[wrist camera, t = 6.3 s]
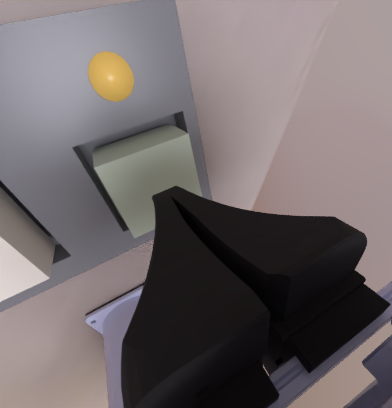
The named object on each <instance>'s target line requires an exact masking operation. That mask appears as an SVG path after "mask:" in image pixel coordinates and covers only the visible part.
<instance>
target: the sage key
mask: <svg viewBox="0 0 392 408" xmlns="http://www.w3.org/2000/svg"><path fill="white" fill-rule="evenodd" d="M92 155H93V164H94V169H95V171H96V173H97V174H98V176H99V178H100V179H101V181H102V183H103V185H104V186H105V188H106V190H107V192H108V193H109V195H110V197H111V199H112V200H113V202H114V204H115V206H116V207H117V209H118V211H119V212H120V214H121V216H122V218H123V219H124V221H125V223H126V225H127V226H128V228H129V230H130V232H131V233H132V235H133V237H134V239H135V238H137V237H139V236H141V235H143V234H145V233H148V232H150V231H152V230H154V229H155V208H154V203H153V200H152V196H153V195H155V194H157V193H160V192H162V191H164V190H167V189H169V188H171V187H174V186H179V187H181V188H183V189H185V190H187V191H189V192H192V193H194V194H196V195H198V196H201V197H202V193H201V188H200V184H199V179H198V175H197V170H196V165H195V161H194V156H193V152H192V147H191V143H190V138H189V134H188V133H186V132H185V131H183V130H181V129H179V128H177V127H175V126H174V125H172V124H167V125H164V126H161V127H158V128H155V129H152V130H149V131H146V132H143V133H141V134H138V135H135V136H132V137H129V138H126V139H123V140H120V141H117V142H114V143H111V144H108V145H105V146H102V147H100V148H97V149H94V150H92Z"/></svg>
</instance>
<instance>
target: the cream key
mask: <svg viewBox="0 0 392 408" xmlns="http://www.w3.org/2000/svg"><path fill="white" fill-rule="evenodd" d="M55 246H56V244H55V243H54V242H53V241H52V240H51V239H50V238H49V237H48V236H47V235H46V234H45V233H44V232H43V231H42V229H41V228H40V227H39V226H38V225H37V224H36V223H35V222H34V221H33V220H32V219H31V218H30V217H29V216H28V215H27V214H26V213H25V212H24V211H23V210H22V209H21V208H20V207H19V206H18V205H17V204H16V203H15V201H14V200H13V199H12V198H11V197H10V196H9V195H8V194H7V193H6V192H5V191H4V190H3V189H2V188H1V187H0V302H1V301H3V300H5V299H7V298H9V297H12V296H14V295H16V294H18V293H20V292H22V291H24V290H26V289H29V288H31V287H33V286H35V285H37V284H39V283H41V282H43V281H46V280H48V279H50V275H51V269H52V263H53V257H54V252H55Z"/></svg>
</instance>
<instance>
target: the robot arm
mask: <svg viewBox="0 0 392 408" xmlns="http://www.w3.org/2000/svg"><path fill="white" fill-rule="evenodd" d="M152 200H153V203H154V208H155V236H154V245H153V251H152V256H151V261H150V265H149V269H148V273H147V277H146V280H145V283H144V285H143V286H141V287H139V288H137V289H135V290H133V291H131V292H130V293H128V294H126V295H124V296H122V297H120V298H118V299H116V300H115V301H113V302H111V303H109V304H107V305H105V306H103V307H101V308H100V309H98V310H96V311H94V312H92V313H90V314H88V315H87V316H86V317H85V322H86V323H87V324H89V325H90V326H91V327H92V328H94V329H95V330H96V331H98V332H99V333H100V334H102V335H103V338H104V351H105V365H106V378H107V392H108V405H109V408H287V407H288V406H289V405H290V404H291V403H293V402H294V401H295V400H296V399H297V398H298V397H300V396H301V395H302V394H303V393H304V392H306V391H307V390H308V389H309V388H310V387H312V386H313V385H314V384H315V383H316V382H318V381H319V380H320V379H321V378H322V377H324V376H325V375H326V374H327V373H328V372H329V371H331V370H332V369H333V368H334V367H335V366H337V365H338V364H339V363H340V362H341V361H343V360H344V359H345V358H346V357H347V356H348V355H350V354H351V353H352V352H353V351H354V350H356V349H357V348H358V347H359V346H360V345H362V344H363V343H364V342H365V341H366V340H367V339H369V338H370V337H371V336H372V335H373V334H375V332H377V331H378V330H379V329H381V328H382V327H383V326H384V325H385V324H386V323H388V322H389V321H390V320H391V319H392V281H391V282H390V283H389V284H387V285H386V286H385V287H383V288H382V289H381V290H380V291H378V292H377V293H375V292H374V291H373V290H371V289H370V288H369V287H367V286H366V285H365V284H363V283H364V282H365V280H366V279H365V277H364V276H362V275H361V274H359V273H358V272H357V271H355V268H356V266H357V264H358V262H359V260H360V258H361V257H362V255H363V253H364V251H365V248H366V245H367V238H366V236H365V234H364V233H362V232H360V231H359V230H357V229H355V228H353V227H352V226H350V225H348V224H346V223H344V222H343V221H341V220H339V219H337V218H335V217H325V216H290V215H277V214H268V213H261V212H254V211H249V210H244V209H239V208H235V207H231V206H227V205H223V204H220V203H217V202H214V201H211V200H208V199H206V198H203V197H201V196H198V195H196V194H194V193H192V192H189V191H187V190H185V189H183V188H181V187H179V186H174V187H171V188H169V189H167V190H164V191H162V192H160V193H157V194H155V195H153V196H152ZM391 324H392V320H391ZM362 363H363V365H364V367H365V368H366V369H367V370H368V371H369V372H370V373H371V374H372V375H373V376H374V377H375V378H376V379H375V380H374V381H373V382H372V383H371V384H369V385H368V386H367V387H366V388H365V389H364V390H363V391H362V392H360V393H359V394H358V395H357V396H356V397H355V398H353V399H352V400H351V401H350V402H349V403H348V404H347V405H346V406H344V407H343V408H392V335H391V336H390V337H388V338H387V339H386V340H385V341H384V342H383V343H382V344H381V345H380V346H378V347H377V348H376V349H375V350H374V351H373V352H372V353H371V354H370V355H368V356H367V358H365V359H364V360H363V361H362ZM263 365H264V367H265V369H266V370H267V372H268V373H269V376H268V375H267V373H266V371H265V370H264V368H263Z"/></svg>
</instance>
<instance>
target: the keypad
mask: <svg viewBox="0 0 392 408" xmlns="http://www.w3.org/2000/svg"><path fill="white" fill-rule="evenodd" d="M167 124H172V125H174V126H175V127H177V128H179V129H181V130H183V131H185V132H186V133H188V134H189V138H190V143H191V147H192V152H193V156H194V161H195V165H196V170H197V175H198V179H199V184H200V188H201V193H202V197H203V198H206V199H208V200H211V201H212V197H211V192H210V186H209V181H208V175H207V170H206V165H205V159H204V154H203V148H202V143H201V138H200V132H199V127H198V121H197V116H196V111H195V105H194V100H193V94H192V89H191V84H190V78H189V73H188V68H187V62H186V57H185V51H184V46H183V41H182V35H181V30H180V24H179V19H178V14H177V8H176V3H175V0H140V1H134V2H128V3H122V4H117V5H111V6H105V7H99V8H94V9H88V10H82V11H76V12H70V13H65V14H59V15H53V16H47V17H42V18H36V19H30V20H24V21H19V22H13V23H7V24H1V25H0V187H1V188H2V189H3V190H4V191H5V192H6V193H7V194H8V195H9V196H10V197H11V198H12V199H13V200H14V201H15V203H16V204H17V205H18V206H19V207H20V208H21V209H22V210H23V211H24V212H25V213H26V214H27V215H28V216H29V217H30V218H31V219H32V220H33V221H34V222H35V223H36V224H37V225H38V226H39V227H40V228H41V229H42V231H43V232H44V233H45V234H46V235H47V236H48V237H49V238H50V239H51V240H52V241H53V242H54V243H55V244H56V246H55V252H54V257H53V263H52V269H51V275H50V279H48V280H46V281H43V282H41V283H39V284H37V285H35V286H33V287H31V288H29V289H26V290H24V291H22V292H20V293H18V294H16V295H14V296H12V297H9V298H7V299H5V300H3V301H1V302H0V312H2V311H4V310H6V309H8V308H10V307H12V306H14V305H16V304H18V303H20V302H23V301H25V300H27V299H29V298H31V297H33V296H35V295H37V294H39V293H41V292H43V291H45V290H47V289H50V288H52V287H54V286H56V285H58V284H60V283H62V282H64V281H66V280H68V279H70V278H72V277H74V276H76V275H79V274H81V273H83V272H85V271H87V270H89V269H91V268H93V267H95V266H97V265H99V264H101V263H103V262H106V261H108V260H110V259H112V258H114V257H116V256H118V255H120V254H122V253H124V252H126V251H128V250H130V249H133V248H135V247H137V246H139V245H141V244H143V243H145V242H147V241H149V240H151V239H153V238H154V236H155V229H154V230H152V231H150V232H148V233H145V234H143V235H141V236H139V237H137V238H135V239H134V237H133V235H132V233H131V232H130V230H129V228H128V226H127V225H126V223H125V221H124V219H123V218H122V216H121V214H120V212H119V211H118V209H117V207H116V206H115V204H114V202H113V200H112V199H111V197H110V195H109V193H108V192H107V190H106V188H105V186H104V185H103V183H102V181H101V179H100V178H99V176H98V174H97V173H96V171H95V169H94V164H93V155H92V150H94V149H97V148H100V147H102V146H105V145H108V144H111V143H114V142H117V141H120V140H123V139H126V138H129V137H132V136H135V135H138V134H141V133H143V132H146V131H149V130H152V129H155V128H158V127H161V126H164V125H167Z"/></svg>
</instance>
